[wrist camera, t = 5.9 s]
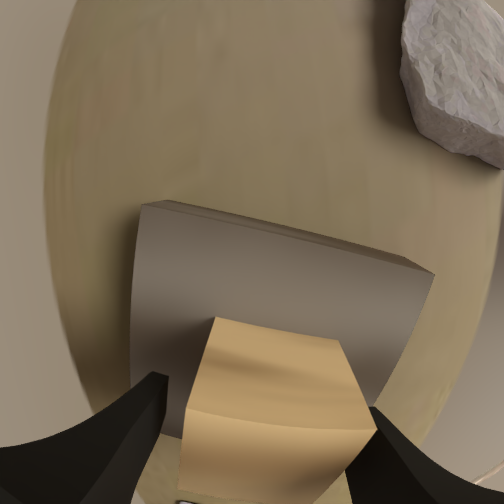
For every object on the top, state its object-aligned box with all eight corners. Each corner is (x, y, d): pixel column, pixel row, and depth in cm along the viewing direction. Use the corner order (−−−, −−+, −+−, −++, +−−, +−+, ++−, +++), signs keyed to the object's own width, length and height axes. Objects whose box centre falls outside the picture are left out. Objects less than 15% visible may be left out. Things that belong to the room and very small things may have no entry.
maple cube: (300, 421, 12) (311, 504, 7) (199, 404, 12) (177, 488, 7) (338, 340, 11) (377, 429, 6) (215, 316, 10) (186, 407, 6)
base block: (327, 425, 16) (335, 458, 13) (148, 392, 15) (132, 423, 12) (404, 257, 13) (434, 274, 10) (167, 199, 12) (141, 204, 10)
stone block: (387, 143, 13) (514, 181, 11) (414, 120, 9) (558, 178, 7) (377, -5, 11) (494, 37, 9) (386, -47, 6) (520, 11, 4)
